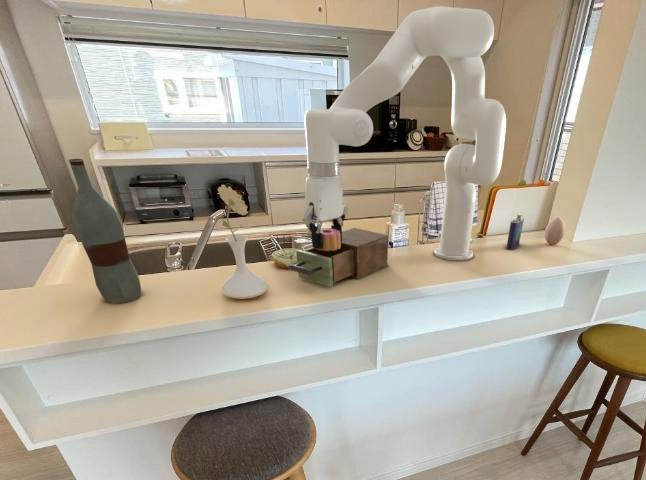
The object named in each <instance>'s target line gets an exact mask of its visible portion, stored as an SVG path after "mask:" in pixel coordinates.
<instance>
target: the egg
mask: <svg viewBox="0 0 646 480" xmlns="http://www.w3.org/2000/svg"><path fill="white" fill-rule="evenodd" d="M565 233H566V224H565V222H564V220H563V219H562V218H560V217H554V218H552V219H551V220H550V221H549V222H548V224H547V225H546V228H545V230H544V240H545V241H546V243H547V244H549V245H551V246H554V245H558V244H559V243H560V242H561V241H562V240H563V239H564V237H565Z"/></svg>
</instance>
